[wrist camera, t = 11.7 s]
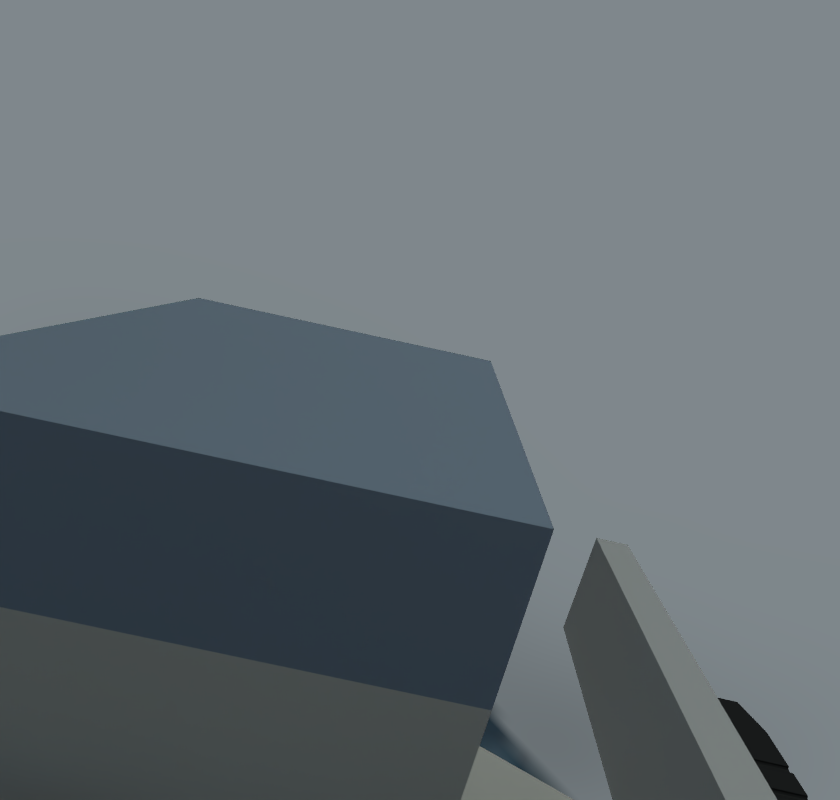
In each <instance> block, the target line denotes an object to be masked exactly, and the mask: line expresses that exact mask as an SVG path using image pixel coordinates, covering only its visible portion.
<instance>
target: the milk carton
mask: <svg viewBox="0 0 840 800" xmlns="http://www.w3.org/2000/svg"><path fill="white" fill-rule="evenodd" d="M553 530H554V528H553V526H552V523H551V521H550V518H549V515H548V512H547V510H546V507H545V505H544V502H543V499H542V497H541V494H540V491H539V489H538V486H537V483H536V481H535V478H534V475H533V473H532V470H531V467H530V465H529V462H528V460H527V457H526V454H525V451H524V449H523V446H522V443H521V441H520V438H519V435H518V433H517V430H516V428H515V425H514V422H513V420H512V417H511V414H510V412H509V409H508V406H507V404H506V401H505V398H504V396H503V393H502V390H501V388H500V385H499V382H498V380H497V377H496V374H495V372H494V369H493V366H492V364H491V361H488V360H483V359H478V358H474V357H469V356H464V355H460V354H455V353H451V352H446V351H441V350H436V349H432V348H427V347H423V346H418V345H413V344H409V343H404V342H400V341H395V340H390V339H386V338H381V337H376V336H371V335H367V334H363V333H358V332H353V331H349V330H344V329H340V328H335V327H330V326H326V325H321V324H316V323H312V322H307V321H302V320H298V319H293V318H289V317H284V316H279V315H275V314H270V313H265V312H260V311H256V310H252V309H247V308H242V307H238V306H233V305H228V304H224V303H219V302H214V301H210V300H205V299H201V298H196V299H192V300H186V301H181V302H175V303H170V304H165V305H160V306H154V307H149V308H144V309H139V310H133V311H128V312H123V313H118V314H112V315H107V316H102V317H97V318H91V319H86V320H81V321H76V322H70V323H65V324H60V325H54V326H49V327H44V328H39V329H33V330H28V331H23V332H18V333H13V334H7V335H2V336H0V800H461V798H462V795H463V792H464V789H465V786H466V783H467V780H468V778H469V775H470V772H471V769H472V766H473V763H474V760H475V757H476V754H477V751H478V748H479V746H480V743H481V740H482V737H483V734H484V731H485V728H486V725H487V722H488V719H489V716H490V714H491V711H492V708H493V705H494V702H495V699H496V696H497V693H498V690H499V687H500V684H501V681H502V678H503V676H504V673H505V670H506V667H507V664H508V661H509V658H510V655H511V652H512V649H513V646H514V643H515V640H516V638H517V635H518V632H519V629H520V626H521V623H522V620H523V617H524V614H525V612H526V609H527V605H528V602H529V600H530V597H531V594H532V591H533V588H534V585H535V582H536V580H537V577H538V573H539V571H540V568H541V565H542V562H543V559H544V556H545V553H546V550H547V548H548V545H549V542H550V539H551V536H552V533H553Z"/></svg>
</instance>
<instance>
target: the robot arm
mask: <svg viewBox="0 0 840 800" xmlns="http://www.w3.org/2000/svg"><path fill="white" fill-rule="evenodd" d="M564 631H565V634H566V638H567V641H568V644H569V648H570V652H571V655H572V659H573V662H574V666H575V669H576V673H577V676H578V679H579V683H580V687H581V690H582V694H583V697H584V701H585V704H586V708H587V711H588V715H589V718H590V722H591V725H592V729H593V732H594V736H595V739H596V743H597V746H598V750H599V753H600V757H601V760H602V764H603V767H604V771H605V774H606V778H607V781H608V785H609V788H610V792H611V795H612V799H613V800H808V799H807V797H808V796H807V794H806V793H805V791H804V789H803V788H802V786H801V785H800V783H799V782H798V780H797V779H796V777H795V776H794V774H793V773H790V772H789V770H788V767H789V766H788V765H787V763H786V762H785V760H784V759H783V757H782V755H781V754H780V753H779V751H778V749H777V748H776V746H775V745H774V743H773V742H772V740H771V739H770V737H769V736H768V734H767V733H766V732H765V730H764V729H763V728H762V727H761V726H760V725H759V724H758V723H757V722H756V721H755V720H754V719H753V718H752V717H751V716H750V715H749V714H748V713H747V712H746V711H745V710H744V709H743V708H742V707H741V706H740V705H739V704H738V702H734V701H730V700H725V699H721V698H717V696H716V695H715V693H714V691H713V689H712V688H711V686H710V684H709V683H708V681H707V679H706V678H705V676H704V674H703V673H702V671H701V669H700V667H699V666H698V664H697V662H696V661H695V659H694V657H693V655H692V654H691V652H690V650H689V649H688V647H687V645H686V644H685V642H684V640H683V638H682V637H681V635H680V633H679V632H678V630H677V628H676V627H675V625H674V623H673V621H672V620H671V618H670V617H669V615H668V613H667V611H666V609H665V608H664V606H663V604H662V603H661V601H660V599H659V598H658V596H657V594H656V593H655V591H654V589H653V587H652V586H651V584H650V582H649V581H648V579H647V577H646V575H645V574H644V572H643V570H642V569H641V567H640V565H639V564H638V562H637V560H636V559H635V557H634V555H633V553H632V552H631V550H630V548H629V547H628V545H625V544H620V543H616V542H612V541H607V540H603V539H598V538H597V539H596V541H595V544H594V547H593V549H592V552H591V555H590V557H589V560H588V563H587V566H586V568H585V571H584V574H583V576H582V579H581V582H580V584H579V587H578V590H577V592H576V595H575V598H574V600H573V603H572V606H571V609H570V611H569V614H568V617H567V619H566V622H565V625H564Z"/></svg>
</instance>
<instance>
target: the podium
mask: <svg viewBox="0 0 840 800" xmlns="http://www.w3.org/2000/svg"><path fill="white" fill-rule="evenodd" d="M461 800H573V799H572V798H570V797H568V796H566V795H565V794H563V793H561V792H559V791H558V790H556V789H554V788H552V787H551V786H549V785H547V784H545V783H543V782H542V781H540V780H538V779H536V778H535V777H533V776H531V775H529V774H528V773H526V772H524V771H522V770H521V769H519V768H517V767H515V766H514V765H512V764H510V763H508V762H507V761H505V760H503V759H501V758H500V757H498V756H496V755H494V754H492V753H491V752H489V751H487V750H485V749H484V748H482V747H480V746H479V748H478V751H477V754H476V757H475V760H474V763H473V766H472V769H471V772H470V775H469V778H468V780H467V783H466V786H465V789H464V792H463V795H462V798H461Z"/></svg>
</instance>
